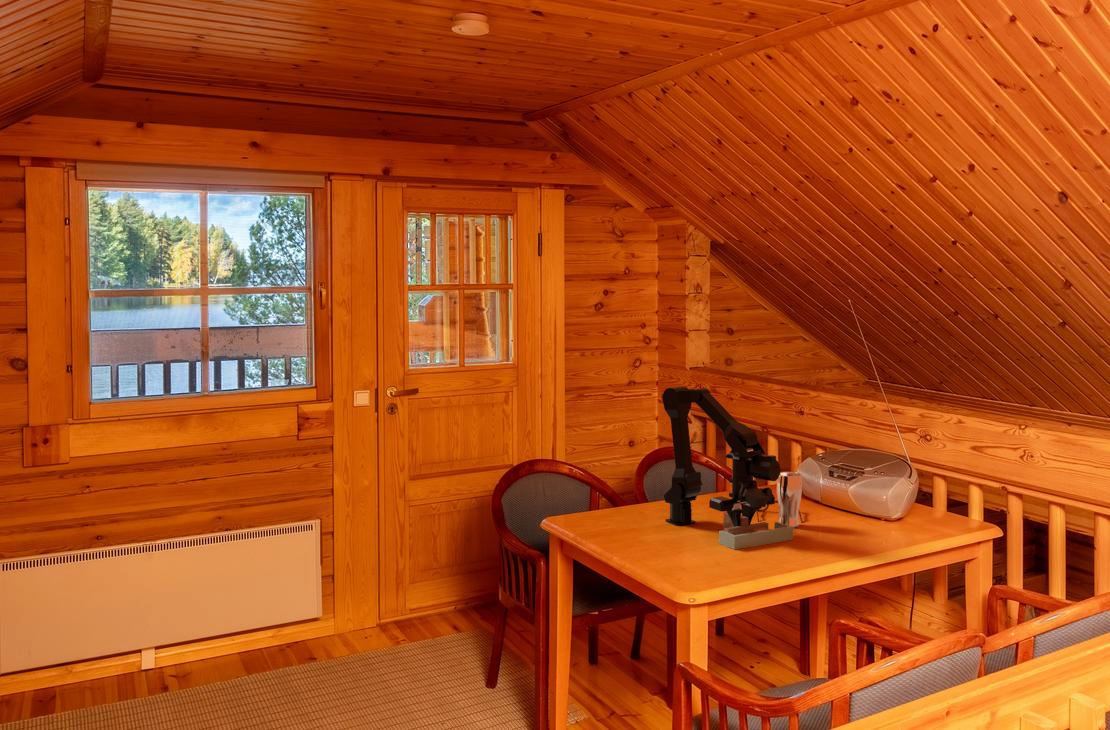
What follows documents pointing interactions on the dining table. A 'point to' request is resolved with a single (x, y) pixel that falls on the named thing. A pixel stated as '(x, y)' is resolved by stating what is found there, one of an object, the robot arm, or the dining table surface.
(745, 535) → the box
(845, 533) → the dining table surface
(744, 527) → the scraper
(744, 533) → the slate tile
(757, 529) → the terracotta tile
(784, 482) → the beer glass
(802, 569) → the dining table surface
